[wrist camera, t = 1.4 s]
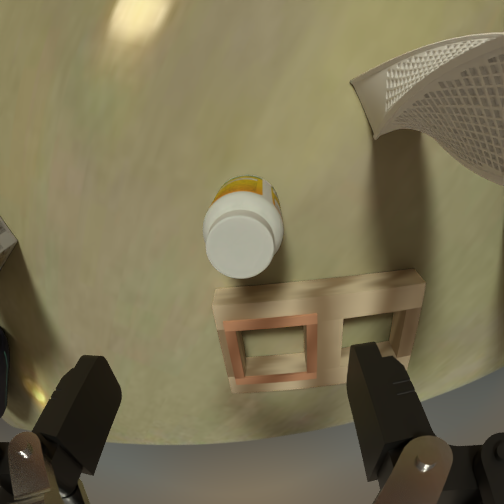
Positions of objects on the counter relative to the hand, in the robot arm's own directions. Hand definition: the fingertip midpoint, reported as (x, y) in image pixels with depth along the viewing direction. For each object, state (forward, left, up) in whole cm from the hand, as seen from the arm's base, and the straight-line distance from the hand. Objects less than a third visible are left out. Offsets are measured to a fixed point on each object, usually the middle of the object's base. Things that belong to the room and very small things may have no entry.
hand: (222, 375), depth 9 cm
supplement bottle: (0, 0, -20) cm, 20 cm away
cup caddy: (-6, +14, -19) cm, 25 cm away
